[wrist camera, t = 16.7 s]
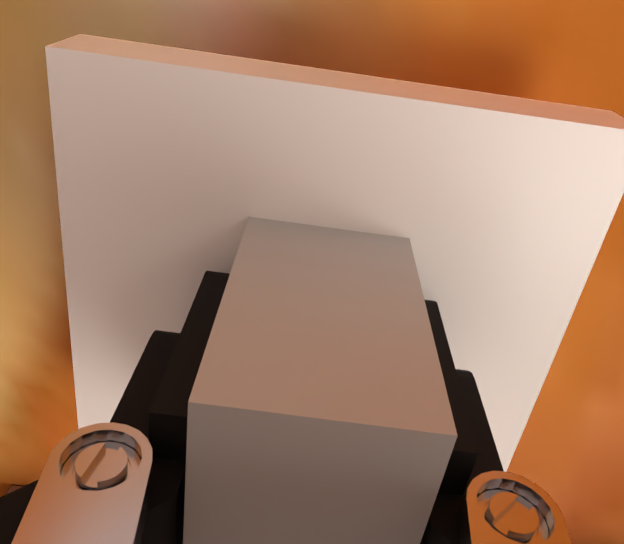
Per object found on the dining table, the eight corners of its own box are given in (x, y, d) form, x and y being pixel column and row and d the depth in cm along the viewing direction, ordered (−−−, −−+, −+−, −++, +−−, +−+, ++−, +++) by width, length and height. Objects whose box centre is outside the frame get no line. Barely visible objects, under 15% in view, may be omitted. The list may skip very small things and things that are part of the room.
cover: (611, 110, 11) (900, 286, 5) (471, 476, 16) (545, 770, 10) (80, 33, 11) (-208, 133, 5) (104, 431, 16) (-29, 708, 10)
